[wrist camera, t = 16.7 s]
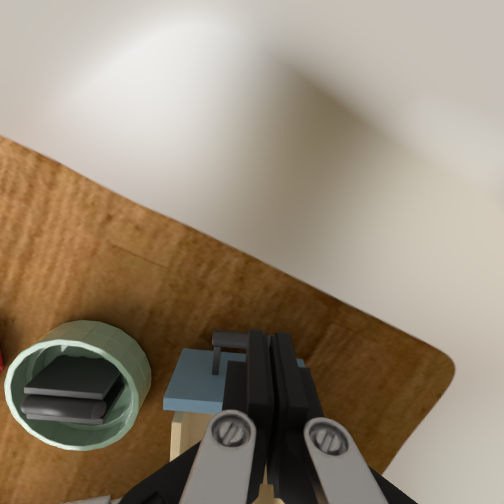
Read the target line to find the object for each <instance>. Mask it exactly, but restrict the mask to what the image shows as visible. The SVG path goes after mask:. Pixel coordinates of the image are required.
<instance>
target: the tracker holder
mask: <svg viewBox="0 0 504 504" xmlns="http://www.w3.org/2000/svg"><path fill="white" fill-rule="evenodd" d="M3 368H4V365H3V360H2V356H1V351H0V372H1V371H2V370H3Z"/></svg>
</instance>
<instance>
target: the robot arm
mask: <svg viewBox="0 0 504 504" xmlns="http://www.w3.org/2000/svg"><path fill="white" fill-rule="evenodd" d="M265 466H266V472H267V484H268V485H273V490H274V498H278V499H281V500H282V501H283V502H284V503H285V504H418V503H416V502H415V501H414V500H412V499H411V498H410V497H408V496H407V495H406V494H404V493H403V492H402V491H401V490H399V489H398V488H397V487H395V486H394V485H393V484H392V483H390V482H389V481H388V480H386V479H385V478H384V477H382V476H381V475H380V474H378V473H377V472H376V471H375V470H373V469H372V468H371V467H369V466H368V465H367V464H366V462H365V460H364V458H363V457H362V455H361V453H360V451H359V449H358V448H357V446H356V444H355V442H354V440H353V438H352V437H351V435H350V434H349V432H348V431H347V430H346V429H345V428H344V427H343V426H342V425H341V424H339V423H337V422H336V421H334V420H331V419H328V418H325V417H324V414H323V411H322V408H321V405H320V401H319V398H318V395H317V392H316V388H315V385H314V382H313V379H312V376H311V372H310V370H309V368H307V367H298V363H297V359H296V355H295V352H294V348H293V344H292V340H291V336H290V333H283V332H276V334H275V335H271V337H270V343H269V345H268V336H267V334H263V331H262V330H252V329H249V335H248V343H247V351H246V360H245V362H242V361H231V360H228V363H227V371H226V379H225V388H224V396H223V404H222V411H221V412H218V413H216V414H215V415H214V416H213V417H212V418H211V419H210V420H209V422H208V424H207V427H206V429H205V432H204V435H203V438H202V440H201V441H199V442H198V443H196V444H195V445H194V446H192V447H191V448H189V449H188V450H186V451H185V452H183V453H182V454H181V455H179V456H178V457H176V458H175V459H173V460H172V461H171V462H169V463H168V464H166V465H165V466H163V467H162V468H160V469H159V470H158V471H156V472H155V473H153V474H152V475H150V476H149V477H147V478H146V479H145V480H143V481H142V482H140V483H139V484H137V485H136V486H135V487H133V488H132V489H131V490H130V491H128V492H127V493H126V494H125V495H124V496H123V498H119V499H113V500H110V495H107V496H101V497H96V498H90V499H84V500H78V501H72V502H66V503H60V504H252V503H253V502H254V501H255V500H256V499H257V498H258V496H259V490H260V484H263V479H264V473H265Z"/></svg>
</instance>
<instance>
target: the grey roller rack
mask: <svg viewBox="0 0 504 504" xmlns="http://www.w3.org/2000/svg"><path fill="white" fill-rule="evenodd" d="M114 382H115V383H114ZM124 389H125V384H123V375H122V373H121V372H120V371H119V370H118V368H117V367H116V366H115V365H114V364H113V363H111V362H110V361H109V360H104V358H98V359H91V358H86V357H84V356H81V357H69V356H68V355H61V356H57V357H56V358H55V359H54V360H53V361H52V362H50V363H49V364H48V365H47V366H46V367H45V368H44V369H43V370H42V371H41V372H40V373H38V374H37V375H36V376H35V377H34V378H33V379H32V380H31V381H30V382H29V383H28V384H26V385H25V386H24V393H27V394H31V395H28V396H27V397H25V398H24V399H23V400H22V402H21V405H20V409H21V411H22V412H23V413H24V414H26V415H27V419H36V420H49V421H61V422H74V423H87V424H99V425H103V424H104V423H105V421H106V419H107V418H108V416H109V414H110V413H111V411H112V409H113V408H114V406H115V404H116V403H117V401H118V399H119V398H120V396H121V394H122V393H123V391H124Z"/></svg>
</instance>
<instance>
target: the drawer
mask: <svg viewBox="0 0 504 504" xmlns="http://www.w3.org/2000/svg"><path fill="white" fill-rule="evenodd" d="M248 335H249V332H240V331H229V330H219V329H214V331H213V337H212V346H214V351H208V350H197V349H186V348H183V349H182V352H181V355H180V357H179V360H178V362H177V365H176V367H175V370H174V372H173V375H172V378H171V380H170V383H169V385H168V388H167V390H166V393H165V395H164V401H163V410H171V411H175V414H174V417H173V420H172V430H171V450H170V462H171V461H172V460H173V459H175V458H176V457H178V456H179V455H181V454H182V453H183V452H185V451H186V450H188V449H189V448H191V447H192V446H194V445H195V444H196V443H198V442H199V441H201V440H202V438H203V435H204V432H205V429H206V427H207V424H208V422H209V420H210V419H211V418H212V417H213V416H214V415H215V414H216V413H218V412H221V411H222V404H223V396H224V388H225V379H226V371H227V363H228V360H231V361H242V362H245V360H246V354H241V353H230V352H221V347H232V348H243V349H247V343H248ZM271 335H272V334H267V336H268V345H269V343H270V337H271ZM297 363H298V367H305V364H304V361H303V359H297ZM252 504H285V503H284V502H283V501H282V500H281V499H278V498H274V490H273V485H268V484H267V472H266V466H265V473H264V479H263V484H260V490H259V496H258V498H257V499H256V500H255V501H254V502H253V503H252Z"/></svg>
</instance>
